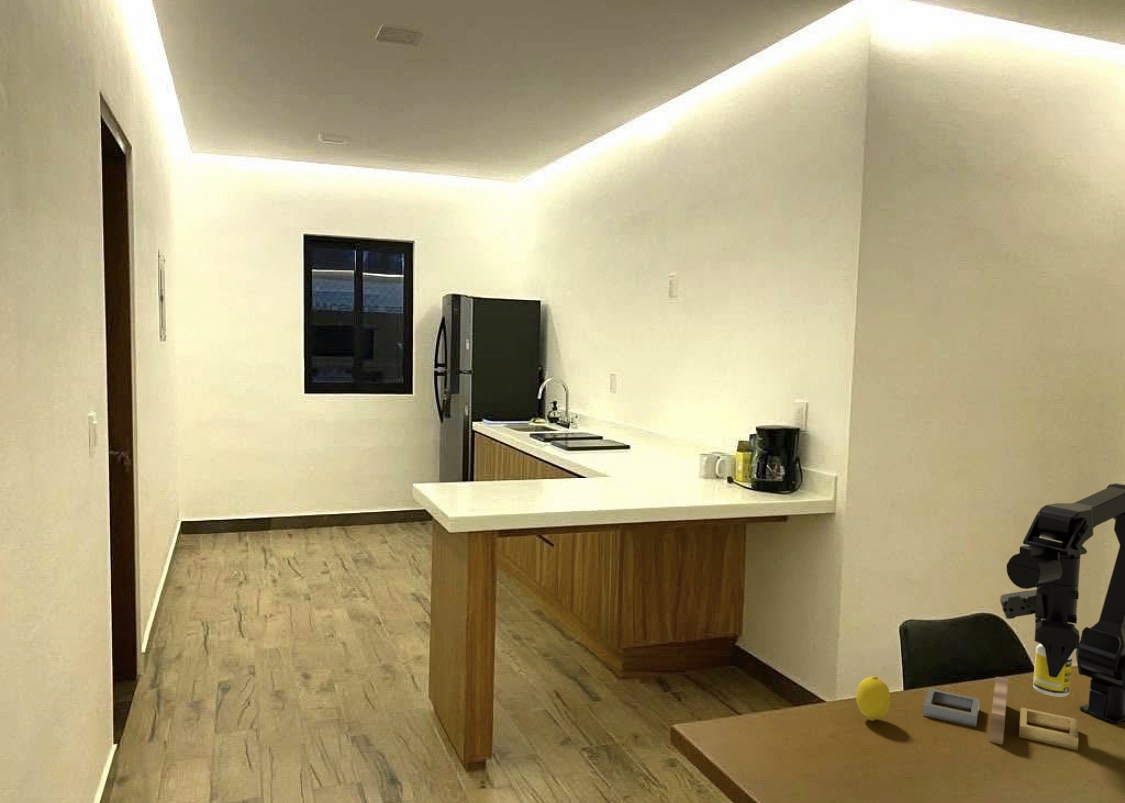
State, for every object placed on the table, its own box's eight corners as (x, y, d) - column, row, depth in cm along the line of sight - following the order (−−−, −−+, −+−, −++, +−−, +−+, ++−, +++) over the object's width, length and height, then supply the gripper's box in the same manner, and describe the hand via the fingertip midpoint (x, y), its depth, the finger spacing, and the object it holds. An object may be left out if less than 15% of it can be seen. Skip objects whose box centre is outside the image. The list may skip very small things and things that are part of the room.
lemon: (891, 729, 145) (894, 683, 144) (857, 725, 146) (860, 680, 146) (885, 715, 150) (888, 671, 150) (853, 712, 152) (855, 668, 151)
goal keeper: (1019, 718, 151) (1020, 707, 151) (1075, 730, 147) (1076, 718, 147) (1018, 737, 144) (1019, 725, 143) (1077, 750, 139) (1078, 738, 139)
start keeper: (928, 698, 158) (929, 688, 158) (979, 709, 154) (979, 698, 154) (923, 715, 151) (923, 704, 151) (976, 727, 147) (976, 716, 147)
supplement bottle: (1069, 700, 141) (1073, 643, 140) (1031, 692, 144) (1035, 636, 143) (1069, 689, 146) (1073, 633, 145) (1033, 682, 149) (1037, 627, 148)
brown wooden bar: (994, 703, 157) (995, 676, 157) (1006, 705, 156) (1008, 679, 156) (989, 741, 142) (991, 712, 141) (1002, 744, 141) (1004, 715, 140)
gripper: (1006, 561, 155) (1001, 645, 157) (1003, 586, 139) (997, 679, 140) (1077, 571, 150) (1071, 657, 151) (1082, 598, 134) (1075, 694, 135)
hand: (1052, 671), depth 145 cm, fingers closed on supplement bottle, 5 cm apart
